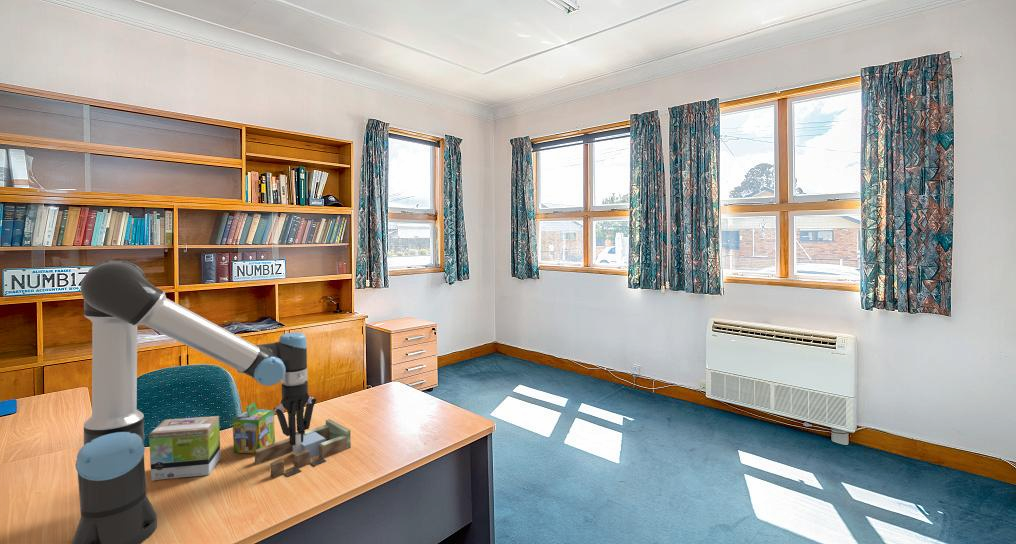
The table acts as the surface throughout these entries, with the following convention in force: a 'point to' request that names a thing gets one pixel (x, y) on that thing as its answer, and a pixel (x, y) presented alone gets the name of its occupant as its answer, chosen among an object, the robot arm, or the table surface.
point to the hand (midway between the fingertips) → (297, 453)
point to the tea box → (184, 447)
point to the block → (312, 443)
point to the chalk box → (253, 429)
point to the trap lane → (327, 448)
